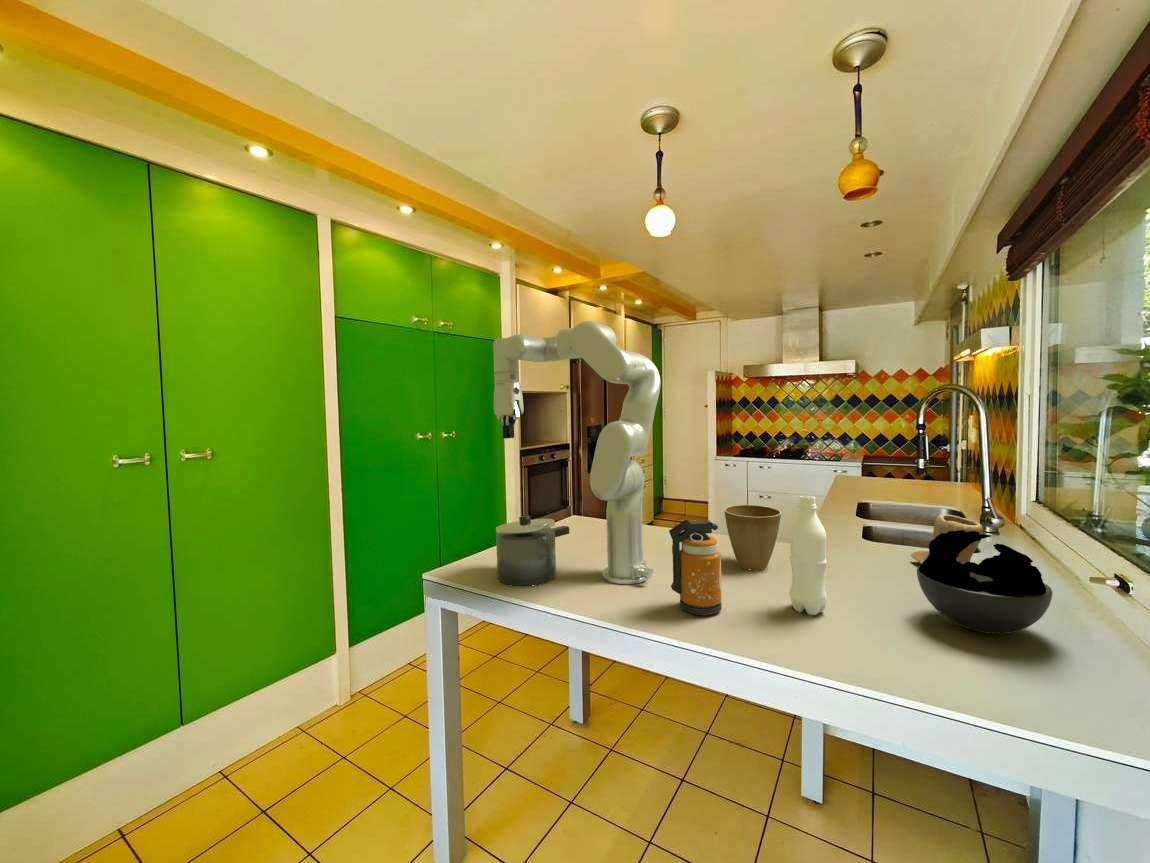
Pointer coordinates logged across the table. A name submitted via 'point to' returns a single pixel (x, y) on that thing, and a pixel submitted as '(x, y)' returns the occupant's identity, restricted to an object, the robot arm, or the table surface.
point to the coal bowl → (983, 585)
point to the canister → (696, 567)
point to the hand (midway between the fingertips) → (508, 438)
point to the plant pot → (752, 533)
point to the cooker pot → (528, 556)
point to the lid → (525, 525)
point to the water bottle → (808, 559)
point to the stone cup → (953, 524)
